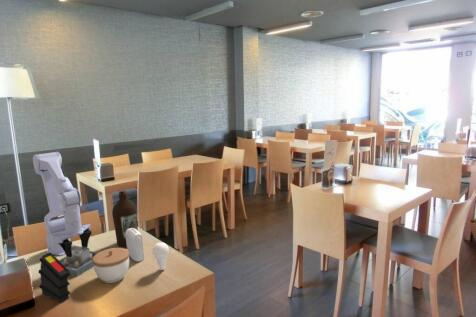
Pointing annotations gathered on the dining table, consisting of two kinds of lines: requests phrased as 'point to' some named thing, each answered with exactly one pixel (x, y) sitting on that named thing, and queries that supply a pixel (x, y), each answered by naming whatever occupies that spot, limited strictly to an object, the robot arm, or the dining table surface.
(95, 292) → the dining table surface
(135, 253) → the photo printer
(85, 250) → the block
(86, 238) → the robot arm
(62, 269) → the black layered block
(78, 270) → the tray
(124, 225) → the olive oil
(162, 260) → the lightbulb
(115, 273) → the lidded bowl
